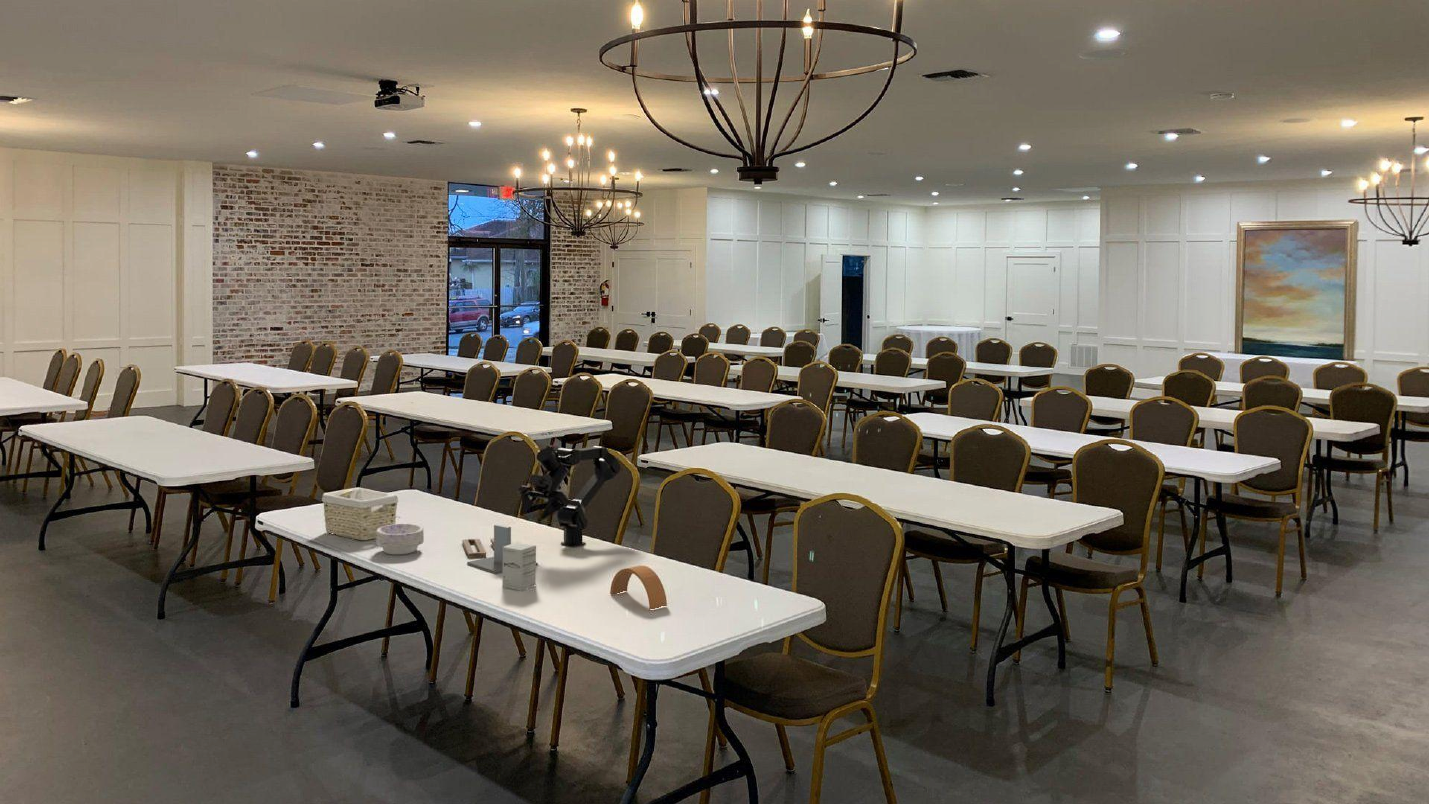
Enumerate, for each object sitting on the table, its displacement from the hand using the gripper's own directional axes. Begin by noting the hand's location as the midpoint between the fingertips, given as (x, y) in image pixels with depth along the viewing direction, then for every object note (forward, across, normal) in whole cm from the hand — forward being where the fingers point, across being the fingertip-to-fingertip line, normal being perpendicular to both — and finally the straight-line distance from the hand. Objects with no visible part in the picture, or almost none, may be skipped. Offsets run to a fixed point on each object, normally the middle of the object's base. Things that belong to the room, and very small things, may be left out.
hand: (530, 517), depth 358 cm
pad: (+19, 0, +1) cm, 19 cm away
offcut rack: (+11, -19, +9) cm, 23 cm away
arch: (+22, +58, -3) cm, 63 cm away
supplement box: (+29, +21, -10) cm, 38 cm away
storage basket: (+19, -71, +1) cm, 73 cm away
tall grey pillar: (+18, 0, 0) cm, 18 cm away
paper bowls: (+25, -40, -5) cm, 47 cm away
